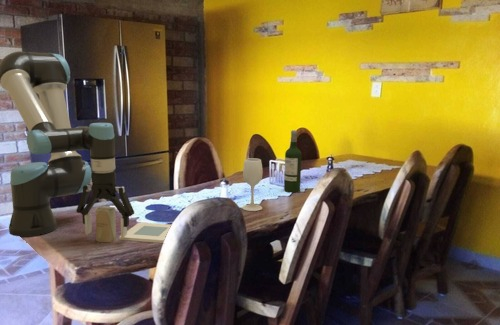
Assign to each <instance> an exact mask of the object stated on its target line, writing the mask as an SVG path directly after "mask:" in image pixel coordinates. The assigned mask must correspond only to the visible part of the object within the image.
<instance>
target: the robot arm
mask: <svg viewBox="0 0 500 325" xmlns="http://www.w3.org/2000/svg"><path fill="white" fill-rule="evenodd" d="M70 81H71V70H70V66H69V64H68V62H67V60H66V58H65V57H63V55H61V54H59V53H52V52H35V51H34V52H33V51H32V52H31V51H14V52H11V53H8V54H7V55H6V56H5V57H3V58H2V59H1V61H0V86H1V87H2V89H4V91H6V92H8V94H9V96H10V98H11V100H12V101H13V103H14V105H15V107H16V109H17V111H18V113H19V115H20V117H21V118H22V120H23V122H24V124H25V127H26V128H27V129H28V132H27V134H26V144H27V149H28V151H29V152H30V153H31V154H33V155H48V154H50V155H51V156H50V158H49V160H48V163H47V162H44V161H38V162H29V163H25V164H20V165H18V166H15V167H14V168H12V169H11V171H10V181H9V184H10V188H11V200H12V214H11V218H10V222H9V224H8V232H9V235H11V236H13V237H34V236H35V237H36V236H40V234H42V235H45V233H46V234H48V233H51V232H53V231H55V230H56V229H57V228H58V223H57V219H56V218H55V214H54V212H53V210H52V208H51V201H50V200H51V199H53V198H58V197H64V196H70V195H77V194H79V193H82V194H81V196H80V200H79V202H78V205H77V208H76V212H75V213H78V214H81V216H82V223H83V224H82V225H84V230H85V235H89V234H91V233H92V232H93V227H92V225H93V224H92V213H90V211H91V209H92V208H93V207H94V205H95V204H96V203H97V200H109V201H110V202H112V204H113V205H114V207H115V209H116V210H117V211H118V213H120V215H121V217H120V236H121V237H124V236H126V235H127V231H128V227H129V226H130V217H131V216H134V214H135V210H134V209H133V206H132V204H131V201H130V199H129V197H128V194H127V192H126V191H127V190H126V186H125V185H123V186H117V174H116V156H115V155H116V150H115V149H116V147H115V145H116V144H115V135H116V134H115V131H114V125H113V124H112V123H111V122H93V123H90V124H89V126H86V125H84V126H82V125H81V126H80V125H79V126H76V127H72V126H71V121H70V117H69V112H68V106H67V102H66V98H65V94H64V92H65V90H66V89H67V84H69V82H70ZM77 151H89V154H90V156H89V157H90V164H89V162H88V161H86V160H83V158H82V155H81V154H80V153H78V152H77ZM91 192H93V194H92V196H91V197H90V199H89V195H90V193H91ZM116 192H117V193H116ZM118 195H119V196H118ZM88 199H89V201H88ZM87 202H88V203H87Z"/></svg>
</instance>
